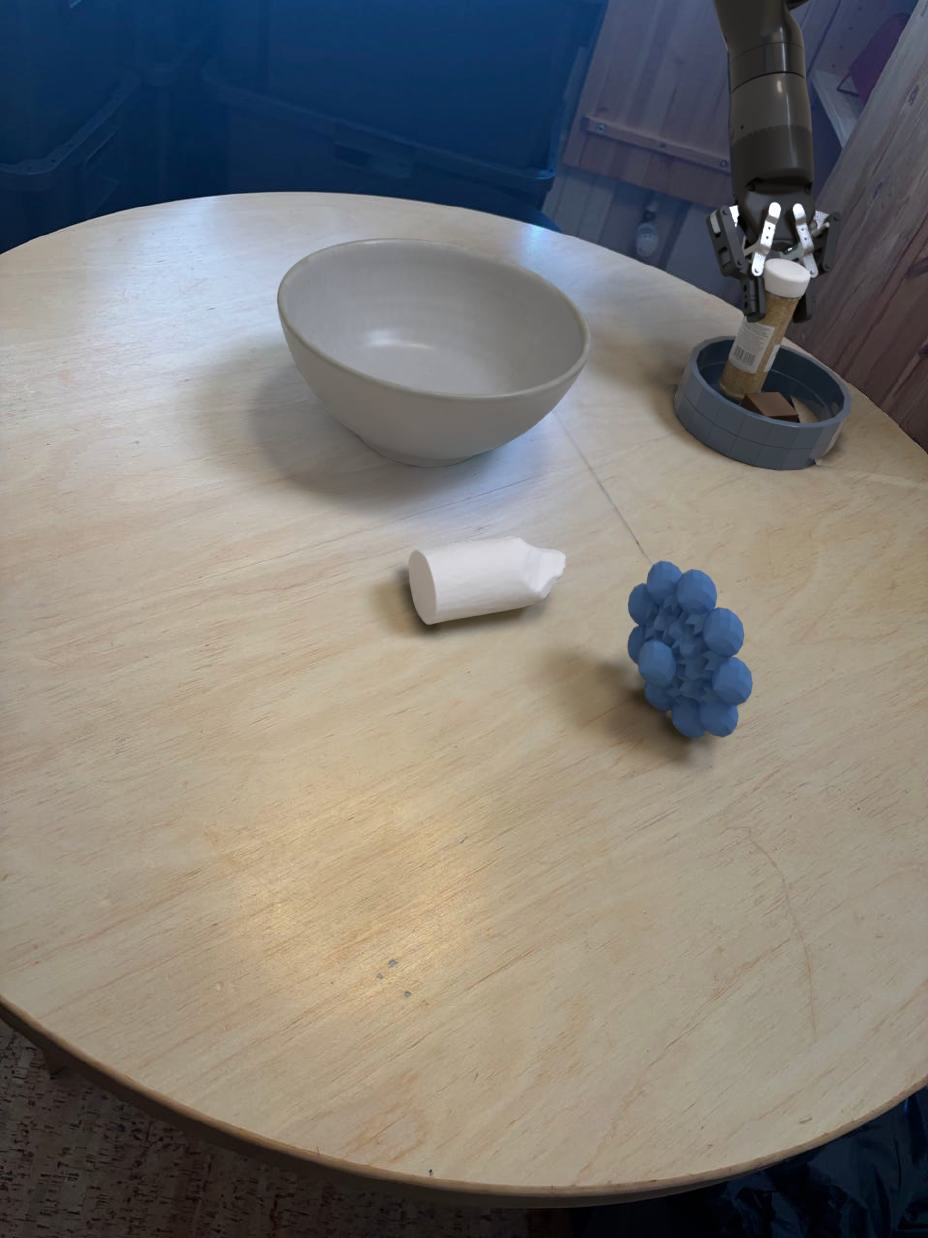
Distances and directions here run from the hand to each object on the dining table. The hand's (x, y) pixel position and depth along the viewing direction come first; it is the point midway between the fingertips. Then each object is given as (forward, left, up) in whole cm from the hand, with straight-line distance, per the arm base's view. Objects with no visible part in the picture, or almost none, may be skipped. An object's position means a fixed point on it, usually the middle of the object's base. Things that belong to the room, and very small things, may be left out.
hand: (780, 320), depth 91 cm
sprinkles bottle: (+1, -2, -9) cm, 9 cm away
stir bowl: (-1, +1, -11) cm, 11 cm away
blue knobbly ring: (+14, +42, -12) cm, 45 cm away
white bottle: (+26, +33, -12) cm, 43 cm away
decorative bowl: (+33, +11, -12) cm, 36 cm away
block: (-1, +4, -11) cm, 12 cm away
